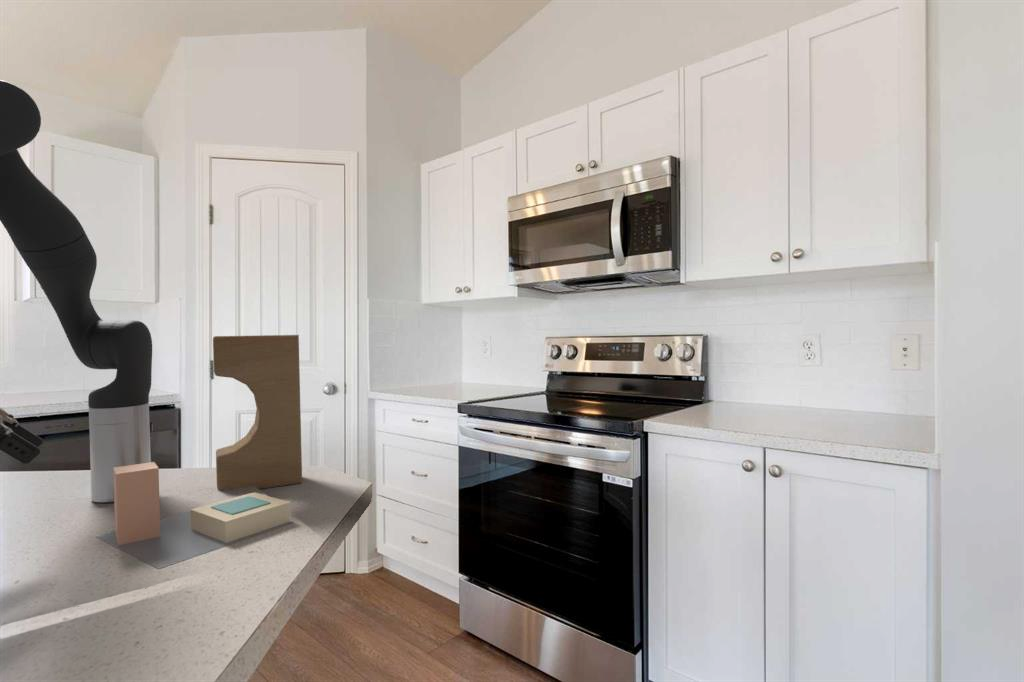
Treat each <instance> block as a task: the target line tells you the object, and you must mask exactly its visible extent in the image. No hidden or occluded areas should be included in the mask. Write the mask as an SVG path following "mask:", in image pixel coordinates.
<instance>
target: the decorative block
mask: <svg viewBox="0 0 1024 682" xmlns="http://www.w3.org/2000/svg"><path fill="white" fill-rule="evenodd" d="M212 352H213V353H212V354H213V355H212V357H213V360H212V361H213V373H214V376H216V377H221V378H228V379H229V378H230V379H234V380H236V381H238V382H240V383H242V384H244V385H246V386H247V388H248V389H249V391H250V392H251V393H252V394H253V399H254V402H255V406H256V410H255V416H254V417H255V418H254V423H253V425H252V426H251V428H250V429H249V431H248V432H247V433H246V435H245V436H244V437H242V438H241V439H239V440H238V441H236V442H235V443H233V444H231V445H228V446H224V447H221V448H218V449H216V451H215V463H216V464H215V467H216V468H215V470H216V473H215V475H216V487H217V491H226V490H233V489H239V488H240V489H241V488H246V487H253V486H254V487H256V488H257V489H258V490H264V489H269V488H274V487H275V488H277V487H284V486H289V485H290V486H291V485H296V484H301V483H302V482H303V464H302V463H303V461H302V460H303V458H302V425H301V424H302V419H301V385H300V384H301V382H300V381H301V379H300V374H301V373H300V371H301V370H300V337H299V334H271V335H268V334H266V335H265V334H264V335H263V334H262V335H259V334H258V335H217V336H216V335H215V336H213V337H212Z"/></svg>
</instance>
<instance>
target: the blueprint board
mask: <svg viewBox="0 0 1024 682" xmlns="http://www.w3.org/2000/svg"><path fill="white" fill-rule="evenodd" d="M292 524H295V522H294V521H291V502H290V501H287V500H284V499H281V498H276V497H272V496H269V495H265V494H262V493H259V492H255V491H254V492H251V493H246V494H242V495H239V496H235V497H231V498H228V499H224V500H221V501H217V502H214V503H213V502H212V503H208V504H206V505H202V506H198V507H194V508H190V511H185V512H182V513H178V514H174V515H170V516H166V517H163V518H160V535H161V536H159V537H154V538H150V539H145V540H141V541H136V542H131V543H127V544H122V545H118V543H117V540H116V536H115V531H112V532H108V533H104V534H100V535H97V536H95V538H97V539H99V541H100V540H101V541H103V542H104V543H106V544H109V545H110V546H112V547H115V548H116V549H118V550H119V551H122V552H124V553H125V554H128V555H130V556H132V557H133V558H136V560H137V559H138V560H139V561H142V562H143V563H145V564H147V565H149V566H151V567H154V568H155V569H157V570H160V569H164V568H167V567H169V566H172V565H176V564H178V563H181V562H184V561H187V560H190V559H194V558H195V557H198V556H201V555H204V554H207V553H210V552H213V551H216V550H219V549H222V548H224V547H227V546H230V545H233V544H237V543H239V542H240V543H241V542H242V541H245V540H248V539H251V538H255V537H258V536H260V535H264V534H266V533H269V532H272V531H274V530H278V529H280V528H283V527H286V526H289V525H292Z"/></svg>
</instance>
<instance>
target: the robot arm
mask: <svg viewBox="0 0 1024 682" xmlns="http://www.w3.org/2000/svg"><path fill="white" fill-rule="evenodd" d="M41 125H42V117H41V111H40V110H39V107H38V105H37V103H36V101H35V100H34V98H33V97H32V96H31V95H30V94H29V93H27V92H26V91H25V90H24V89H23V88H21V87H19V86H17V85H16V84H14V83H11V82H8V81H7V80H2V79H0V222H1V224H2V225H3V227H4V229H5V231H6V233H8V235H9V237H10V239H11V242H12V243H13V244H14V246H15V249H16V250H17V251H18V252H19V255H20V256H21V258H22V259H23V261H24V263H25V264H26V266H27V267H28V269H29V270H30V271H31V274H32V275H33V276H34V278H35V279H36V281H37V283H38V284H39V286H40V287H41V289H42V291H43V292H44V294H45V296H46V298H47V299H48V301H49V303H50V304H51V306H52V308H53V310H54V312H55V314H56V316H57V318H58V320H59V323H60V325H61V327H62V329H63V331H64V333H65V336H66V337H67V341H68V342H69V344H70V346H71V348H72V350H73V352H74V354H75V356H76V358H77V359H78V360H79V362H80V363H82V364H83V365H84V366H85V367H87V368H89V369H93V370H116V374H115V378H114V379H113V381H111V382H110V383H109V384H107V385H105V386H103V387H100V388H96V389H94V390H92V391H90V393H89V394H88V397H87V398H88V399H87V401H88V405H87V406H88V423H89V424H88V426H89V427H88V428H89V455H90V456H89V458H90V459H89V460H90V491H91V492H90V493H91V494H90V495H91V499H90V500H91V501H92V502H93V503H114V473H113V468H114V467H121V466H128V465H135V464H142V463H149V462H152V459H151V433H150V432H151V429H150V427H151V426H150V425H151V424H150V402H149V401H150V400H149V399H150V393H151V388H152V373H153V372H152V369H153V368H152V367H153V340H152V335H151V332H150V329H149V328H148V326H147V325H146V324H145V323H144V322H142V321H139V320H134V319H133V320H130V319H128V320H127V319H125V320H124V319H123V320H119V319H118V320H115V319H113V320H103V319H102V318H101V317H100V316H99V315H98V312H97V311H96V309H95V308H94V305H93V304H92V303H93V302H92V300H91V289H92V285H93V282H94V280H95V279H94V278H95V275H96V271H97V265H98V264H97V262H98V259H97V258H98V257H97V253H96V251H95V249H94V247H93V245H92V243H91V241H90V239H89V236H88V235H87V233H86V231H85V229H84V227H83V226H82V224H81V222H80V221H79V219H78V218H77V217H76V215H75V214H74V213H73V212H72V211H71V210H70V208H68V206H66V204H65V203H64V202H62V200H60V199H59V198H58V197H57V196H56V194H55V193H53V192H52V191H51V190H50V189H49V188H48V187H47V186H46V185H45V184H43V182H42V181H41V180H40V179H38V177H37V176H36V175H35V174H34V173H33V172H32V171H31V169H30V168H29V166H27V164H26V162H25V161H24V159H23V158H22V156H21V154H20V152H19V149H20V148H23V147H24V146H26V145H28V144H30V143H31V142H32V141H33V140H34V139H35V138H36V137H37V136H38V134H39V132H40V129H41ZM43 442H44V440H43V438H41V437H40V436H38V435H37V434H35V433H33V432H32V431H30V430H29V429H26V427H24V426H23V425H21V424H19V422H18V420H17V419H16V418H15V417H14V415H13V414H11V413H8V412H7V411H6V410H4V409H3V407H0V451H1V452H3V453H5V454H6V455H8V456H9V457H12V458H13V459H15V460H16V461H19V462H20V463H22V464H24V465H26V464H29V463H31V462H32V461H33V460H34V459H35V458H36V457H37V456H39V455H40V454H41V449H40V446H41V445H42V444H43Z"/></svg>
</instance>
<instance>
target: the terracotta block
mask: <svg viewBox="0 0 1024 682" xmlns="http://www.w3.org/2000/svg"><path fill="white" fill-rule="evenodd" d="M159 472H160V471H159V466H158V465H157V464H156V462H155V461H151V462H149V463H142V464H135V465H128V466H121V467H114V468H113V473H114V502H113V505H114V532H115V536H116V540H117V543H118V545H122V544H127V543H131V542H136V541H141V540H145V539H150V538H154V537H159V536H161V535H160V519H161V515H160V514H161V507H160V506H161V505H160V504H161V503H160V502H161V501H160V475H159V474H160V473H159Z"/></svg>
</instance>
